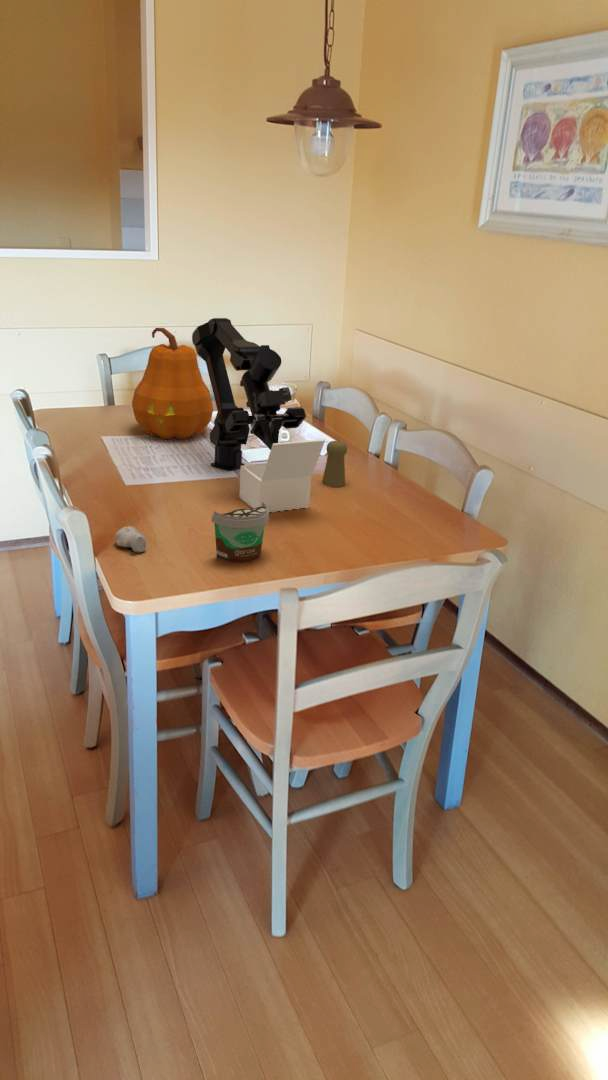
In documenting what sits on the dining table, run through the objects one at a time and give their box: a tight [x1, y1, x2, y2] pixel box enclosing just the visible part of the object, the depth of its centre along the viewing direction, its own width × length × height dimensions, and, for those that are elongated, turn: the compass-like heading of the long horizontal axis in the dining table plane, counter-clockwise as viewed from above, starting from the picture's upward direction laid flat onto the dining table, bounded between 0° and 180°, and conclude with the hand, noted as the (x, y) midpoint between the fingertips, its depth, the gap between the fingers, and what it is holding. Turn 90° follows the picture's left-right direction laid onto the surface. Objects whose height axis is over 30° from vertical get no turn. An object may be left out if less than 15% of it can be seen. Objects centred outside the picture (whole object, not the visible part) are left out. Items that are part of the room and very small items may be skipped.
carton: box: [238, 462, 313, 514], centre depth 191 cm, size 11×13×8 cm
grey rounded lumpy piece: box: [115, 525, 147, 554], centre depth 163 cm, size 4×8×5 cm
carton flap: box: [262, 439, 326, 481], centre depth 181 cm, size 11×13×1 cm
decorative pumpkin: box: [131, 327, 214, 440], centre depth 234 cm, size 24×24×30 cm
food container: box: [210, 502, 270, 564], centre depth 161 cm, size 12×6×10 cm, turn 126°
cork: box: [321, 440, 348, 488], centre depth 206 cm, size 6×6×11 cm
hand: (275, 451), depth 188 cm, fingers closed
